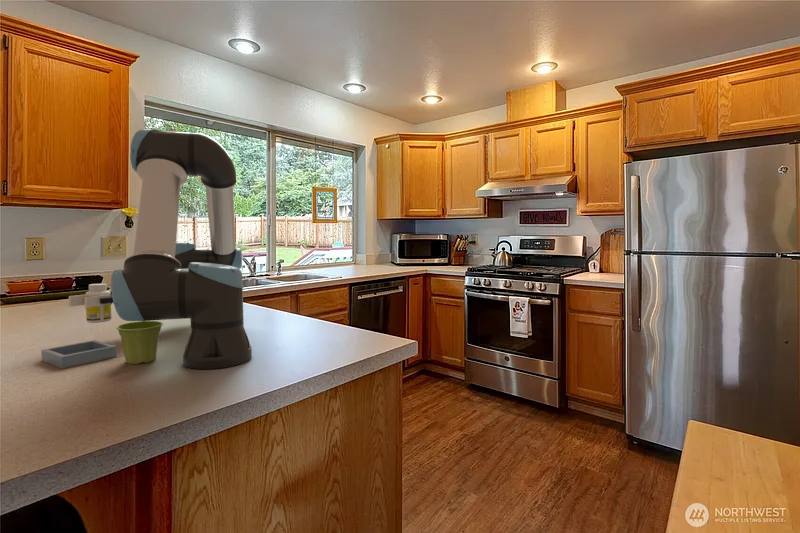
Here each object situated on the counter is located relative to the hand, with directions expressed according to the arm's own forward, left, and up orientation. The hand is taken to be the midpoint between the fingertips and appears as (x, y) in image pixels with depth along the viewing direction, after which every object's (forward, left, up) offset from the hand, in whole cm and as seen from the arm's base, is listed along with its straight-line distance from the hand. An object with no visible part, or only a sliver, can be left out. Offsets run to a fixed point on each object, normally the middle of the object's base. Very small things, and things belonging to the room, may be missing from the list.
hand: (77, 301), depth 108 cm
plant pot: (-24, -3, -13) cm, 28 cm away
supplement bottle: (+1, -5, -6) cm, 8 cm away
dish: (-10, +4, -12) cm, 17 cm away
